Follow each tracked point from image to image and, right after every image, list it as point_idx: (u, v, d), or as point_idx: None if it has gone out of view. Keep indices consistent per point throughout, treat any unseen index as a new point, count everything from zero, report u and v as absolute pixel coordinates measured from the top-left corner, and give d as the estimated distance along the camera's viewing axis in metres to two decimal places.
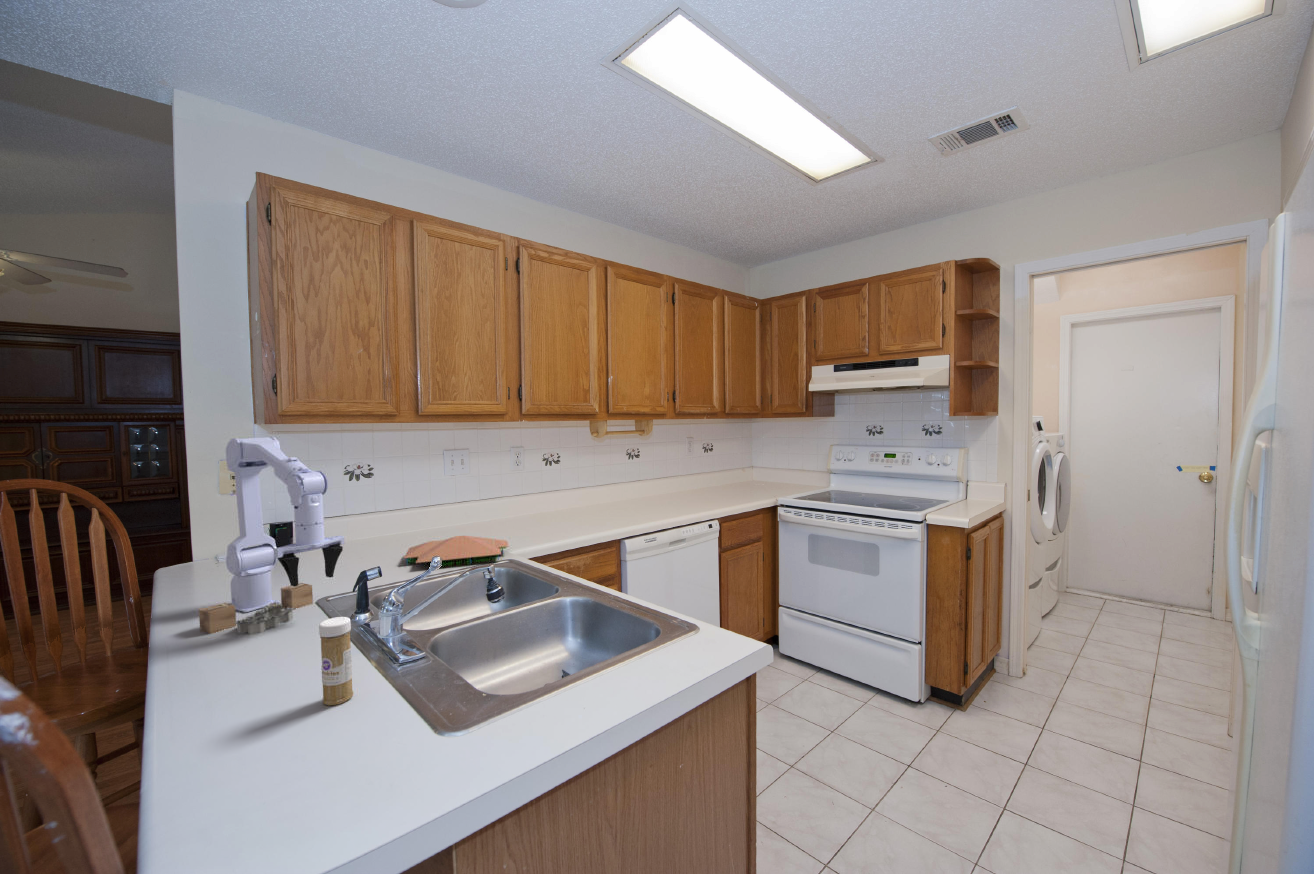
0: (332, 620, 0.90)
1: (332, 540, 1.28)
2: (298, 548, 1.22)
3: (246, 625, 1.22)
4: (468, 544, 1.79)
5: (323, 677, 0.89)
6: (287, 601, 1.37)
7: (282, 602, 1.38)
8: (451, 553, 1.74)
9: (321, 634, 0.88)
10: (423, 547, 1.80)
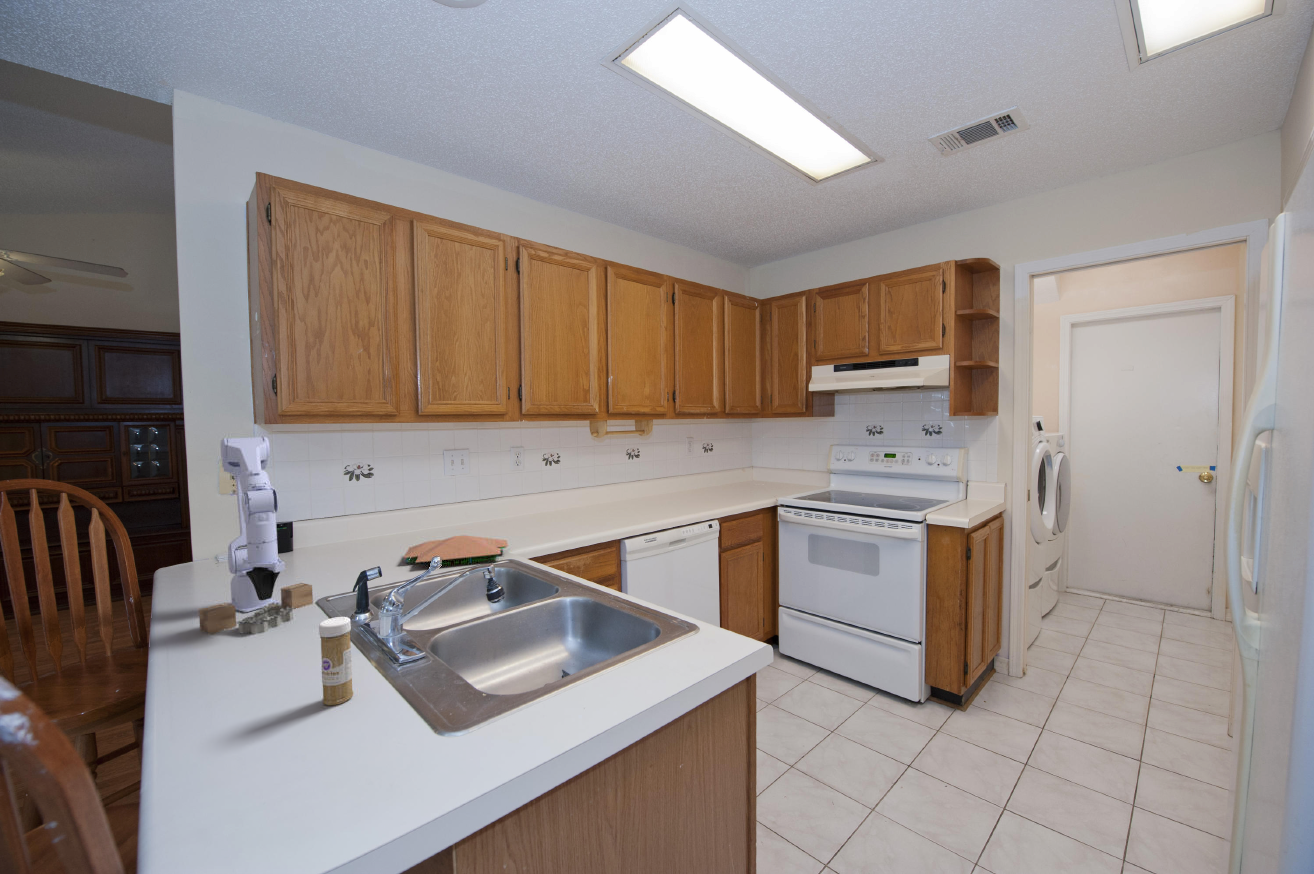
0: (332, 620, 0.90)
1: (263, 564, 1.22)
2: (245, 562, 1.25)
3: (248, 625, 1.22)
4: (468, 544, 1.79)
5: (323, 677, 0.89)
6: (287, 601, 1.37)
7: (282, 602, 1.38)
8: (451, 552, 1.74)
9: (321, 634, 0.88)
10: (423, 547, 1.81)
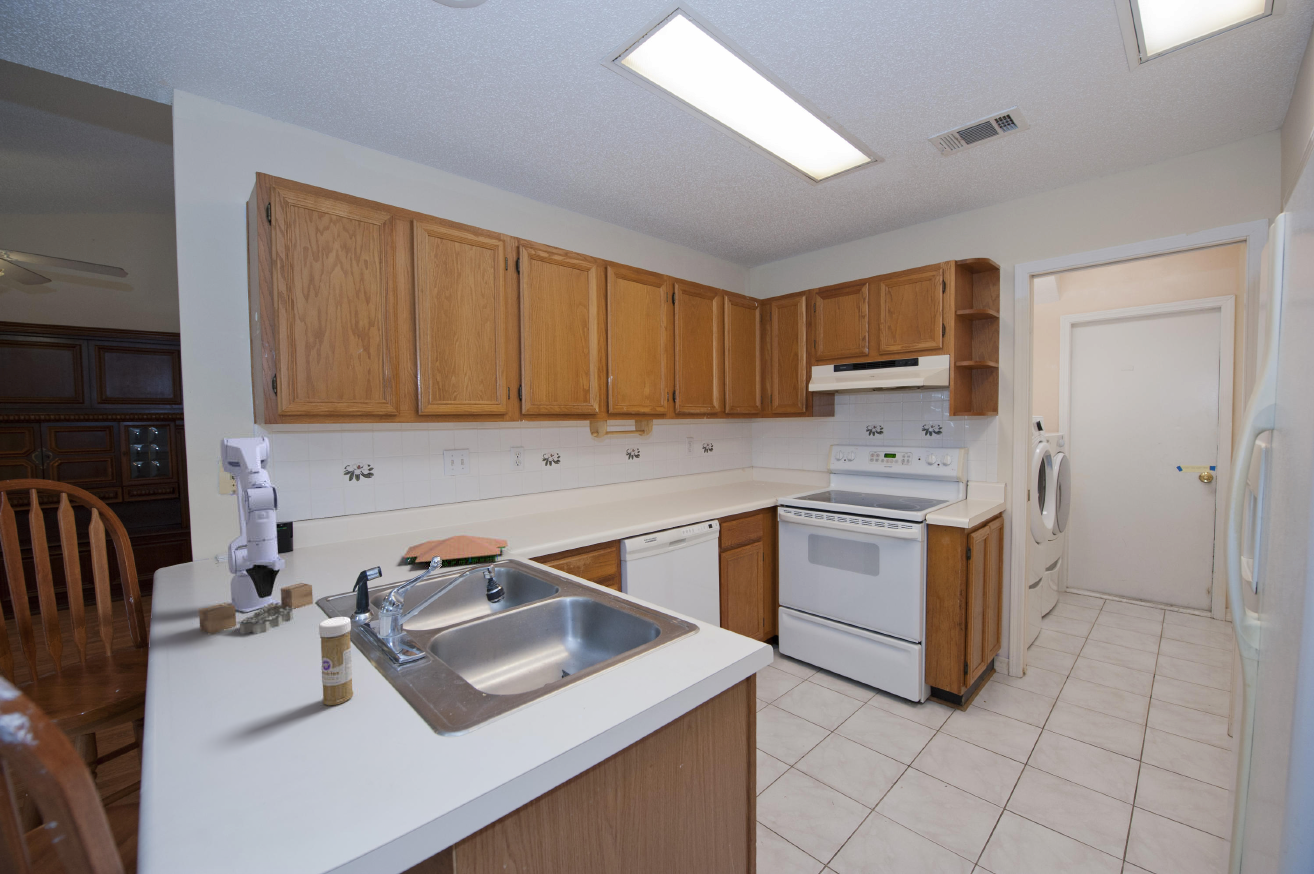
0: (332, 620, 0.90)
1: (263, 562, 1.22)
2: (245, 560, 1.25)
3: (249, 625, 1.22)
4: (467, 544, 1.80)
5: (323, 677, 0.89)
6: (287, 601, 1.37)
7: (282, 602, 1.38)
8: (451, 552, 1.75)
9: (321, 634, 0.88)
10: (423, 546, 1.81)
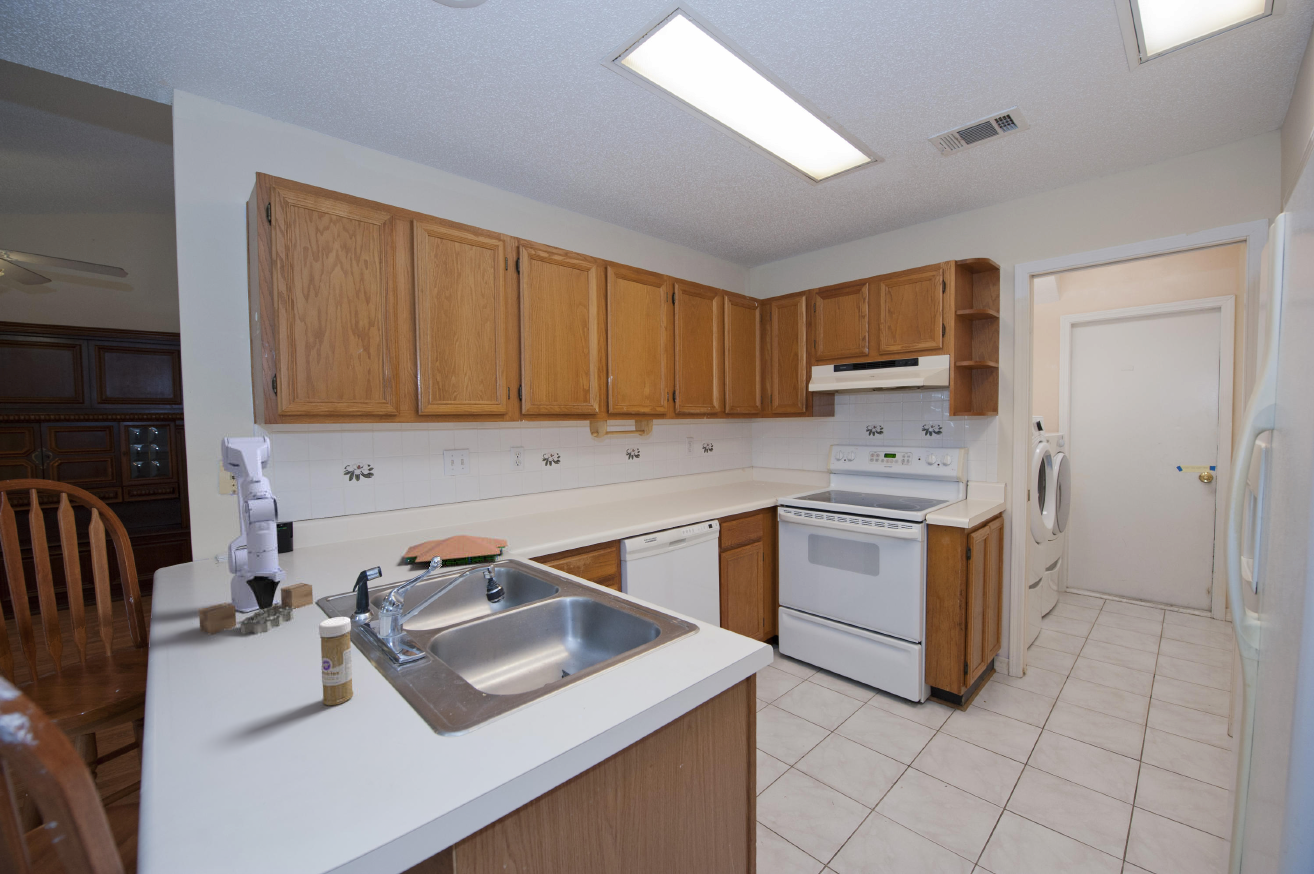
0: (332, 620, 0.90)
1: (264, 573, 1.22)
2: (246, 571, 1.25)
3: (250, 625, 1.22)
4: (467, 543, 1.80)
5: (323, 677, 0.89)
6: (287, 601, 1.37)
7: (282, 602, 1.38)
8: (451, 552, 1.75)
9: (321, 634, 0.88)
10: (423, 546, 1.81)
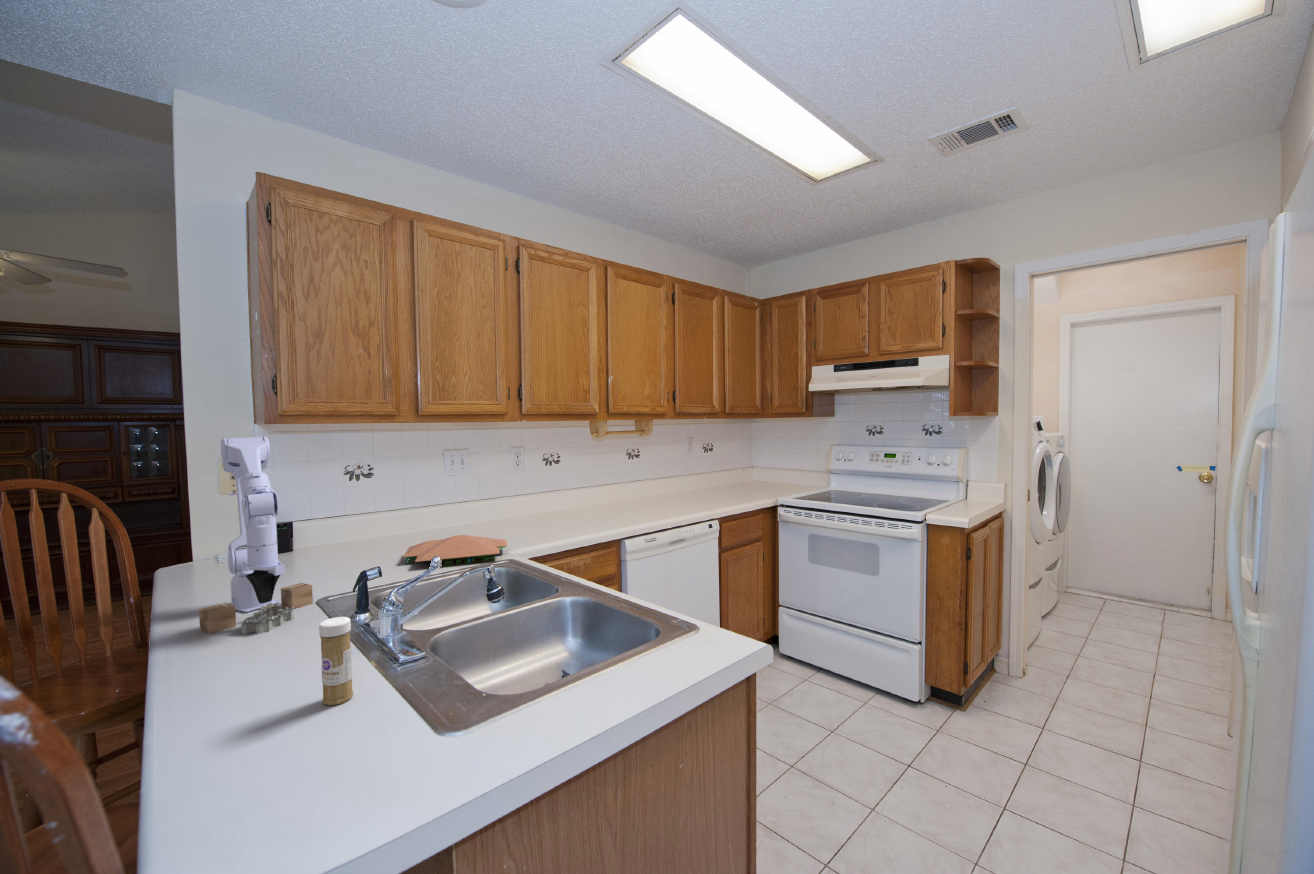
0: (332, 620, 0.90)
1: (264, 568, 1.22)
2: (245, 565, 1.25)
3: (251, 625, 1.22)
4: (467, 543, 1.80)
5: (323, 677, 0.89)
6: (287, 601, 1.37)
7: (282, 602, 1.38)
8: (450, 552, 1.75)
9: (321, 634, 0.88)
10: (423, 546, 1.82)
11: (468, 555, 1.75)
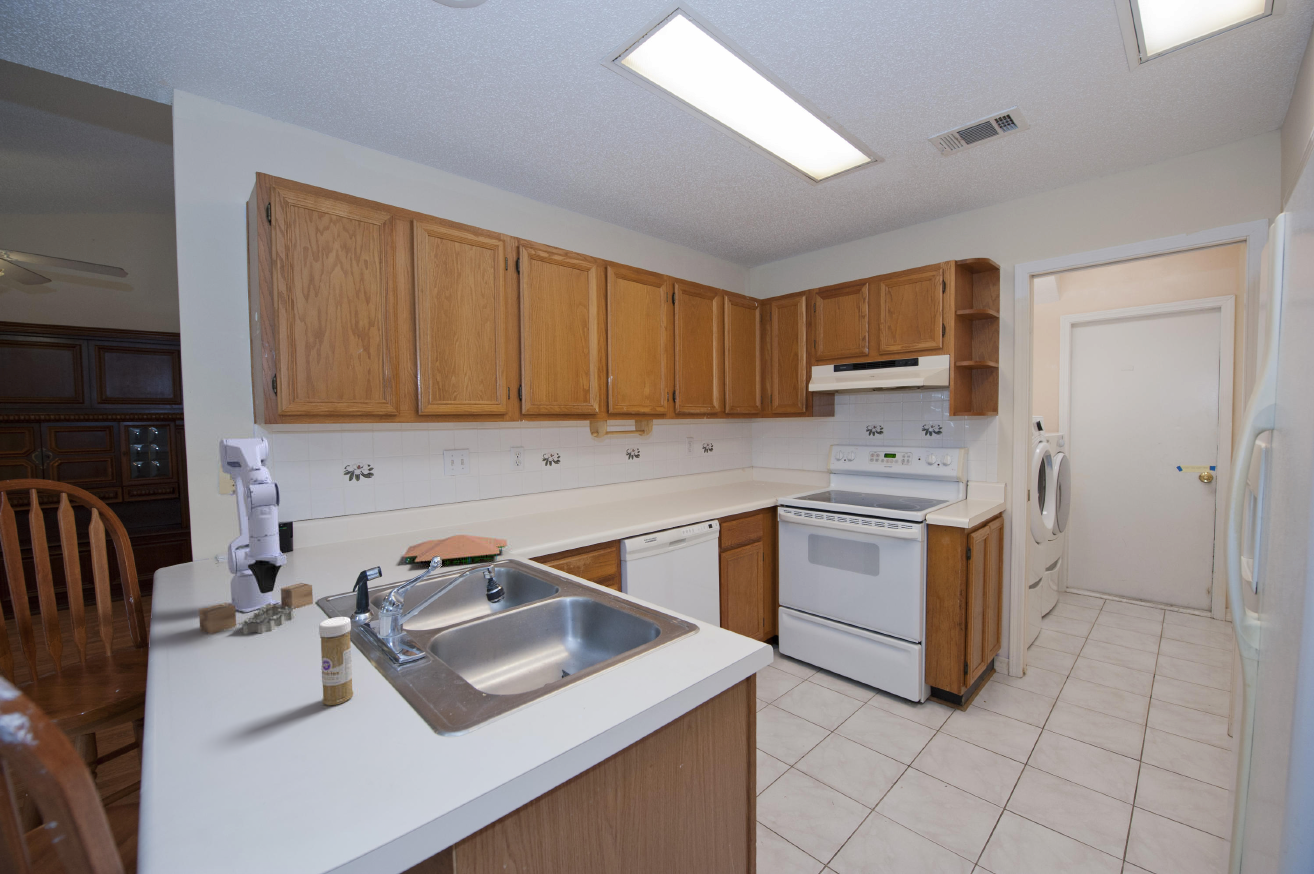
0: (332, 620, 0.90)
1: (265, 558, 1.23)
2: (247, 555, 1.26)
3: (253, 625, 1.22)
4: (467, 543, 1.80)
5: (323, 677, 0.89)
6: (287, 601, 1.37)
7: (282, 602, 1.38)
8: (450, 552, 1.75)
9: (321, 634, 0.88)
10: (423, 546, 1.82)
11: (468, 555, 1.75)
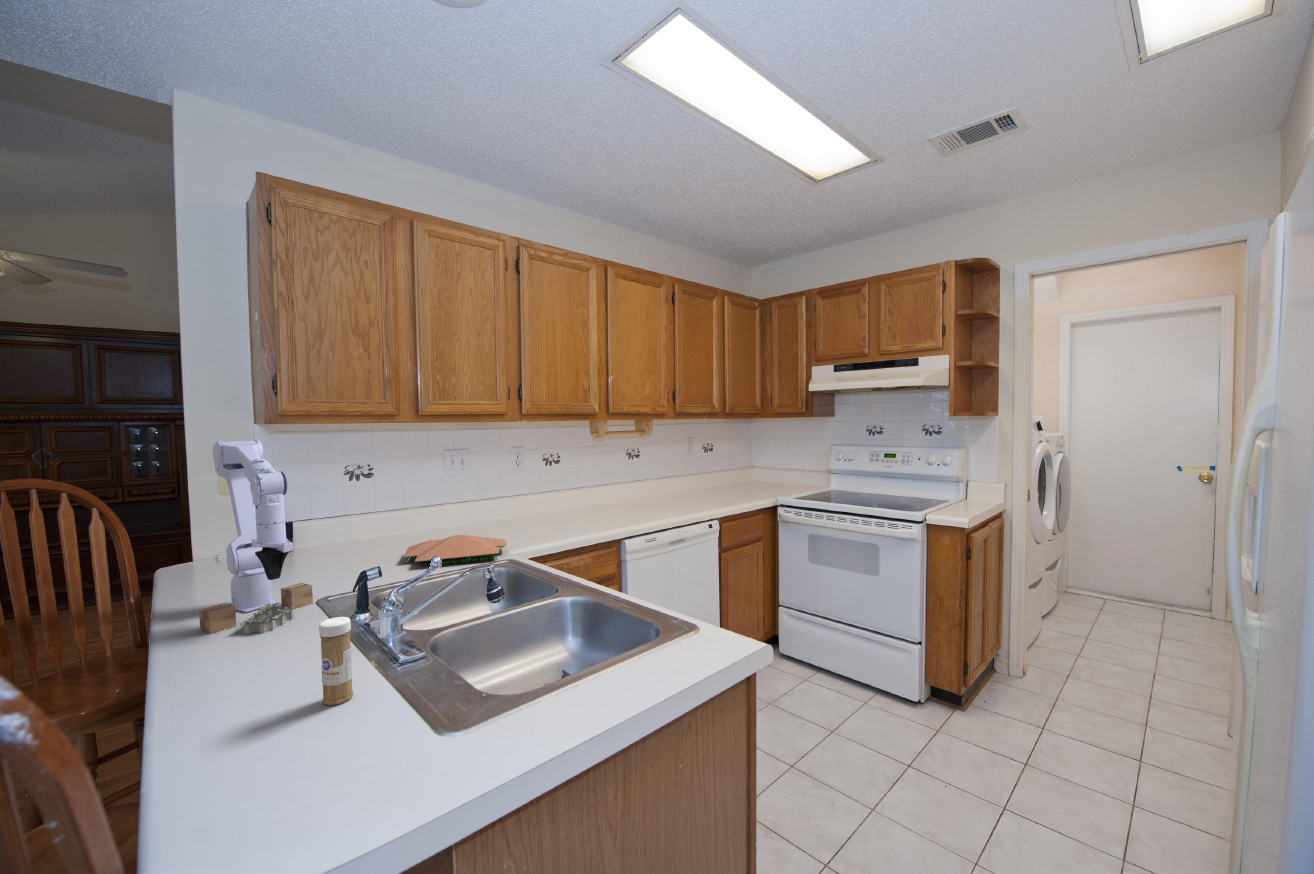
0: (332, 620, 0.90)
1: (272, 545, 1.25)
2: None
3: (254, 625, 1.22)
4: (467, 543, 1.81)
5: (323, 677, 0.89)
6: (287, 601, 1.37)
7: (282, 602, 1.38)
8: (450, 552, 1.76)
9: (321, 634, 0.88)
10: (423, 546, 1.82)
11: (468, 555, 1.75)
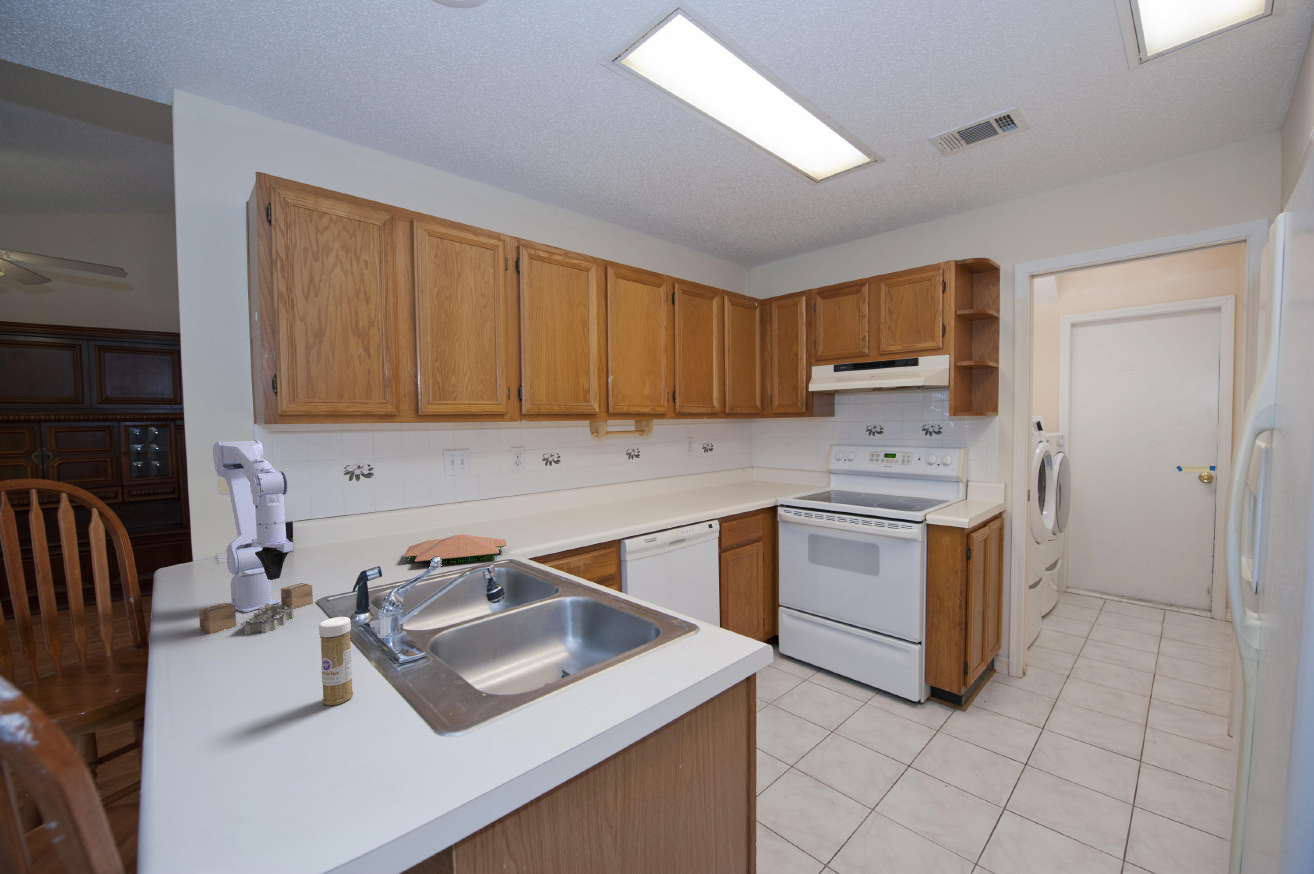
0: (332, 620, 0.90)
1: (272, 545, 1.25)
2: None
3: (255, 625, 1.22)
4: (466, 543, 1.81)
5: (323, 677, 0.89)
6: (287, 601, 1.37)
7: (282, 602, 1.38)
8: (450, 552, 1.76)
9: (321, 634, 0.88)
10: (422, 546, 1.82)
11: (467, 555, 1.75)
